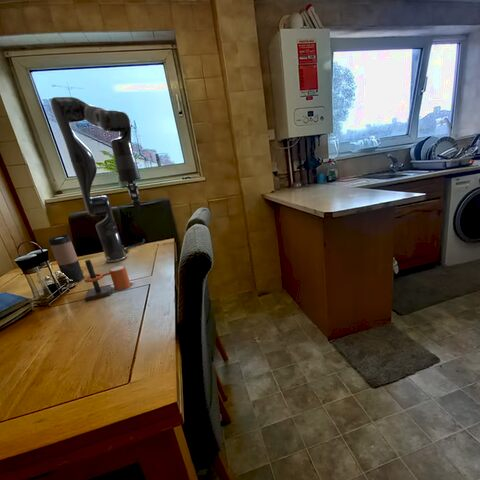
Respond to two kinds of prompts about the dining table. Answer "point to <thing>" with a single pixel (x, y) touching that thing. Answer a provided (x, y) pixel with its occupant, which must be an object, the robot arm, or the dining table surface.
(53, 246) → the travel mug
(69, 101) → the robot arm
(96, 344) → the dining table surface
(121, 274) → the measuring cup
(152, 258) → the dining table surface
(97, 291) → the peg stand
